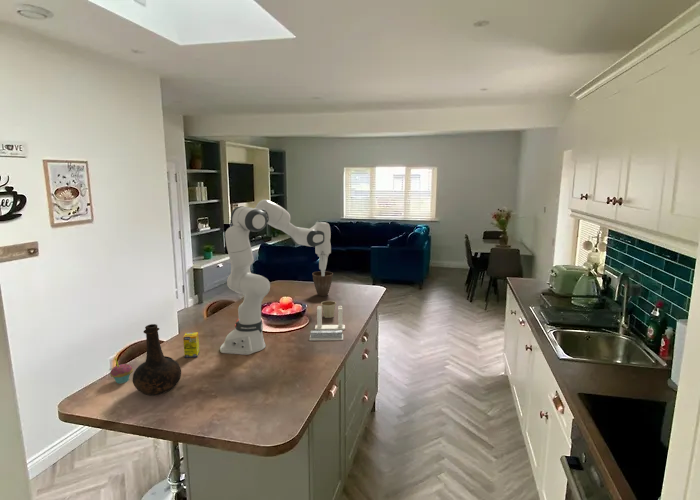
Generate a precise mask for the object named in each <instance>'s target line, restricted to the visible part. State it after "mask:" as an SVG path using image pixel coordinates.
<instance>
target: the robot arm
mask: <svg viewBox="0 0 700 500" xmlns="http://www.w3.org/2000/svg"><path fill="white" fill-rule="evenodd" d="M229 221H230V222H229V224H230V227H228V228H227V229H226V231H225V234H224V235H225V237H224V238H225V245H226V250H227V253H228V257H229V262H230V274H229V275H228V277H227V280H226V285H227V288H229V289H230V290H231V291H233V292H235V293H237V294H240V295H241V294H242V295H243V302H242V303H240V304H239V306H238V308H237V311H238V312H237V313H238V319H236V321H235V323H234V329H233V330H232V331H230V332H229V333H228V334H227V335H226V336H225V339H224V342H223V343H222V344H221V346H220V347H219V352H220V353H222V354H232V355H243V356H244V355H245V356H249V355H251V354H254V353H256V352H260V351H262V350H264V349H265V348H266V343H265V340H264V335H263V329H264V326H263V319H262V303H263V300H264V298H265V297H266V296H267V295H268V294H269V292H270V290H271V289H270V288H271V282H270V281H269V279H268V278H267V277H265V276H264V275H260V274H256V273H252V272H251V266H252V264H254V261H255V260H254V259H255V258H254V254H253V250H252V246H251V241H250V232H252V233H253V232H254V233H257V232H261V231H263V229H265V227H266V226H267V225H269V226H270V227H272V228H274V229H276V230H280V231H281V232H282V233H285V234H286V235H287V236H288V237H289V238H290V239H291V240H292V242H293V243H294V244H295V245H299V246H306V247H310V248H311V247H313V248H315V249H314V250H315V254H316V255H317V257H319V258H318V269H319V270H320V271H321V276H325V271H326V269H327V265H328V258H329V255H330V254H332V245H331V235H332V234H331V233H332V232H331V226H330V224H329V223H328V222H325V221H316V222H315V224H314V225H313V226H311V227H310V228H307V227H301V226H296V225H294V224H293V223H291V214H290V213H289V212H288V210H287V209H285V208H284V207H283V206H281V205H279V204H277V203H275V202H273V201H271V200H269V199H261V200H259V201H258V202H257V204H256V205H255V207H254V208H253V207H252V206H251V207H250V206H244V205H241V206H237V207H235V208H234V209H232V211H231V213H230V220H229Z"/></svg>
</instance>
